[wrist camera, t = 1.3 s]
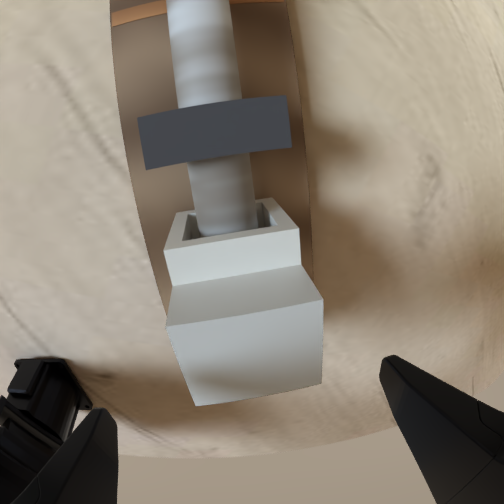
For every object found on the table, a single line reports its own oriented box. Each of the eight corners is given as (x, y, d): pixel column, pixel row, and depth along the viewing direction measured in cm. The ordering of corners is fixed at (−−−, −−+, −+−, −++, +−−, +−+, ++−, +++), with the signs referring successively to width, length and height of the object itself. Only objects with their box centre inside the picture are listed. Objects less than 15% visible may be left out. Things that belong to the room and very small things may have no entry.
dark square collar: (266, 140, 16) (292, 147, 11) (165, 156, 15) (145, 170, 10) (261, 104, 15) (286, 95, 10) (160, 120, 14) (136, 117, 10)
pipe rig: (309, 300, 22) (341, 358, 16) (173, 323, 21) (165, 389, 15) (270, -50, 12) (295, -103, 6) (113, -28, 11) (82, -75, 5)
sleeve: (281, 289, 19) (321, 383, 12) (197, 303, 19) (195, 406, 12) (272, 197, 17) (322, 257, 10) (176, 212, 17) (152, 285, 9)
